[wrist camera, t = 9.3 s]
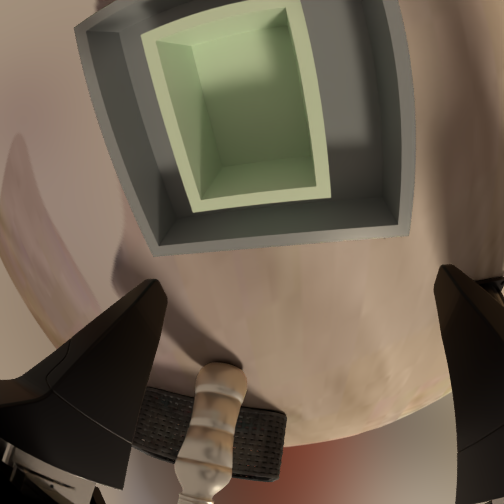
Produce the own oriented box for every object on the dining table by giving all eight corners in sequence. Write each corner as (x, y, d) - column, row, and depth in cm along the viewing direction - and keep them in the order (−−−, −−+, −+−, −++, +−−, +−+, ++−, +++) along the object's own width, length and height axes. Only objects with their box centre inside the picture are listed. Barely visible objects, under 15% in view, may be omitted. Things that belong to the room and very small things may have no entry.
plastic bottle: (191, 357, 33) (151, 498, 18) (237, 354, 31) (204, 515, 15) (215, 379, 37) (185, 504, 21) (257, 377, 34) (234, 515, 19)
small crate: (296, 17, 10) (298, -7, 6) (321, 161, 15) (331, 197, 11) (183, 41, 12) (140, 34, 8) (217, 174, 17) (193, 212, 13)
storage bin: (163, 412, 57) (150, 458, 46) (139, 382, 45) (117, 441, 34) (278, 433, 54) (272, 482, 43) (289, 409, 42) (282, 478, 32)
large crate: (362, -29, 8) (380, -51, 4) (390, 203, 17) (409, 235, 14) (112, 28, 11) (73, 27, 8) (174, 224, 21) (153, 256, 17)
